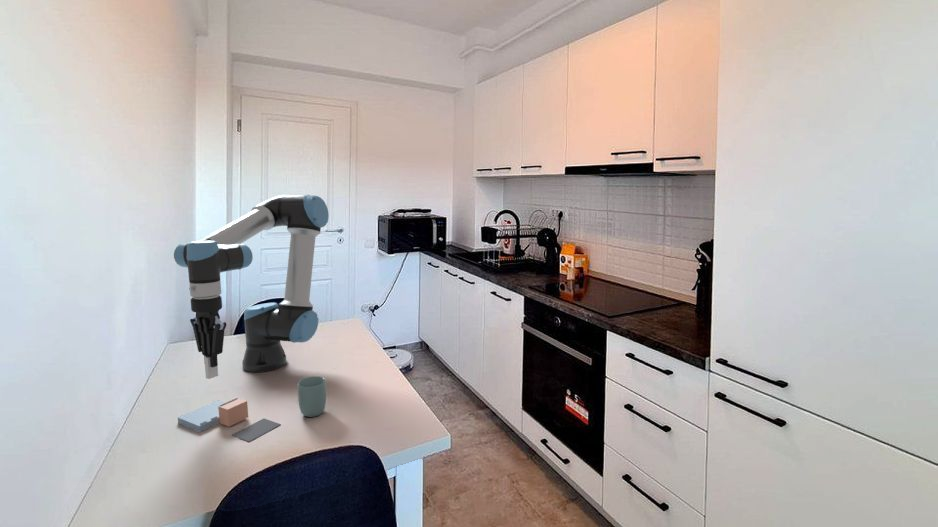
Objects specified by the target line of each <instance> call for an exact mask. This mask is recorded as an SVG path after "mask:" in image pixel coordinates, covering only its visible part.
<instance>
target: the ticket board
mask: <svg viewBox="0 0 938 527" xmlns="http://www.w3.org/2000/svg"><path fill="white" fill-rule="evenodd" d="M224 403H226V402H224V401H221V400H216V401H212V402H211V403H209V404H206V405H204V406H201V407H199V408H197V409H194V410H192V411H189V412H188V413H184V414H183V415H182V414H181V415H180V416H178V417H177V424H179V425H182V426H184V427H186V428H188V429H191V430H194V431H196V432H197V433H198V432H199V433H201V432H204V431H205V430H208V429H209V428H212V427H214V426H216V425H218V424H221V423H220V421H219V409H218V406H220V405H222V404H224Z"/></svg>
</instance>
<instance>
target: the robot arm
mask: <svg viewBox="0 0 938 527" xmlns="http://www.w3.org/2000/svg"><path fill="white" fill-rule="evenodd" d="M328 209H329V208H328V206H327V204H326V202H325V201H324V199H323V198H321V197H320V196H319V195H311V194H292V195H290V194H282V195H277V196H274V197H271V198H269V199H267V200H265V201H262V202H260V203H258V204H257V205H255V206H253V207H252V208H251V210H250V212H248V213H247V214H245V215H242V216H241V217H239V218H237V219H235V220H233V221H232V222H229V223H228V224H226V225H225V226H222V227H221V228H218V229H217V230H215V231H213V232H212V233H210V234H208V235H206V236H204V237H202V238H201V239H198V240H196V241H195V240H194V241H193V240H192V241H190V242H186V243H184V242H183V243H180V244H178V245H177V246H176V247H175V249H174V252H173V259H174V261H175V263H176V264H177V265H178V266H180V267H182V268H187V270H188V282H189V288H188V289H189V295H190V297H191V298H190V310H191V312H192V313H195V317H194V318H190V320H189V322H190V323H191V327H192V329H193V333H194V338H195V342H196V343H195V344H196V346H197V351H198V352H199V353H201V354H202V355H203V358H204V360H203V361H204V370H205V379H207V380H210V379H213V378H215V377H218V376H219V370H218V369H219V368H218V366H219V363H218V355H220V354H222V353H223V351H224V350H223V349H224V339H225V330H226V327H227V322H225V321H224V322H222V321H221V320H220V319H221V317H220V313H219V311H220V310H221V309H223V299H222V298H223V297H222V296H221V294H222V284H221V283H222V282H221V273H224V272H230V271H235V270H242V269H245V268H247V267H249V266H251V264H252V261H253V259H254V258H253V251H252V249H251V248H250V247H249V246H248V245H247V244H244V242H246V241H248V240H249V239H251V238H253V237H254V236H256V235H258V234H260V233H261V232H262V231H269V230H271V229H273V228H277V227H286V230H287V231H288V233H290V242H289V252H288V259H287V269H286V270H287V271H286V280H285V288H284V289H285V290H284V297H283V298H284V299H283V300H282V301H281V302H279V303H277V302H266V303H260V304H255V305H251V306H249V307H247V308H245V309H244V312H243V315H244V316H243V323H244V324H243V326H244V333H245V335H244V336H245V347H246V348H245V351H244V355H243V359H242V362H241V363H242V369H243V370H244V371H246V372H252V373H262V372H264V373H265V372H269V371H274V370H277V369H280V368H281V367H283V366H285V365H286V364H287V355H286V353H285V350H284V348H283V346H282V345H283V344H281V342H291V343H294V344H295V343H306V342H308V341H310V340H311V339H312V338H313V337H314V336H315V334H316V333H317V330H318V326H319V317H318V314H317V313H316V311H314V310H313V309H314V305H313V304H312V303H311V301H310V296H311V286H312V275H313V268H314V267H313V265H314V254H315V246H316V237H317V236H319V235H320V234H321V228H324V227H325V226H327V224H328V222H329V210H328Z"/></svg>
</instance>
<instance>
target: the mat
mask: <svg viewBox="0 0 938 527" xmlns="http://www.w3.org/2000/svg"><path fill="white" fill-rule="evenodd" d="M279 426H281V423H280V422H279V423H278V422H275V421H273V420H270V419H268V418H262V419H260V420H258V421H256V422H253V423H252V424H250V425H248V426H245V427H244V428H242V429H240V430H238V431H236V432H234V433H232V434H231V436H232V437H234V438H237V439H240V440H242V441H245V442H247V443H251V442H252V441H254V440H256V439H258V438H259V437H261V436H263V435H266V433H269V432H270V431H272V430H274V429H276V428H278V427H279ZM268 431H269V432H268Z"/></svg>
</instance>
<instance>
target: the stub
mask: <svg viewBox="0 0 938 527" xmlns="http://www.w3.org/2000/svg"><path fill="white" fill-rule="evenodd" d="M248 408H249V407H248V401H247V400H246V399H244V398H243V399H242V398H240V397H236V398H234V399H232V400H228V401H226V402H225V403H224V404H222V405H220V406H218V409H219V421H220V423H219V424H221V425H224V426H226V427H231V426H233V425H235V424H237V423H239V422H241V421H244V420H246V419H248V418H249V409H248Z"/></svg>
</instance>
